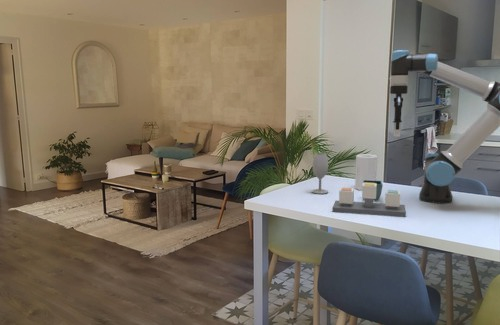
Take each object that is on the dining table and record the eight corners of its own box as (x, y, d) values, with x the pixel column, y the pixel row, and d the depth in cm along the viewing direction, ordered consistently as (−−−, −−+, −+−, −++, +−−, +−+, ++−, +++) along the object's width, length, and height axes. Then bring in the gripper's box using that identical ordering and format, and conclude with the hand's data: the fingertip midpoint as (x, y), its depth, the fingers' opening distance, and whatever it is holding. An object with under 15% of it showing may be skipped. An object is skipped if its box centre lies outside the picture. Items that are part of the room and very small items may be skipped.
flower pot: (382, 202, 207) (382, 184, 206) (363, 201, 209) (363, 183, 208) (380, 198, 216) (381, 180, 214) (362, 197, 218) (362, 180, 216)
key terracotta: (353, 200, 198) (353, 187, 197) (352, 203, 193) (353, 190, 192) (340, 199, 200) (340, 187, 199) (339, 203, 194) (339, 189, 193)
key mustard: (376, 195, 195) (376, 182, 194) (375, 198, 189) (376, 185, 188) (362, 194, 197) (363, 181, 196) (361, 198, 191) (362, 184, 190)
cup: (354, 186, 243) (355, 154, 239) (374, 186, 241) (375, 154, 238) (356, 190, 232) (357, 157, 229) (377, 191, 230) (378, 157, 227)
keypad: (404, 208, 196) (405, 194, 194) (405, 217, 183) (406, 201, 182) (335, 204, 205) (335, 190, 203) (332, 211, 192) (332, 196, 191)
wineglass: (330, 191, 230) (331, 153, 227) (324, 195, 223) (325, 155, 219) (315, 189, 235) (316, 152, 231) (309, 193, 228) (309, 154, 224)
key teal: (399, 203, 192) (399, 190, 191) (399, 206, 187) (400, 193, 186) (385, 202, 194) (385, 189, 193) (385, 206, 189) (385, 192, 188)
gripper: (389, 85, 203) (388, 134, 207) (390, 85, 191) (388, 137, 195) (406, 85, 201) (404, 135, 205) (408, 84, 189) (406, 138, 193)
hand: (396, 136), depth 200 cm, fingers closed
